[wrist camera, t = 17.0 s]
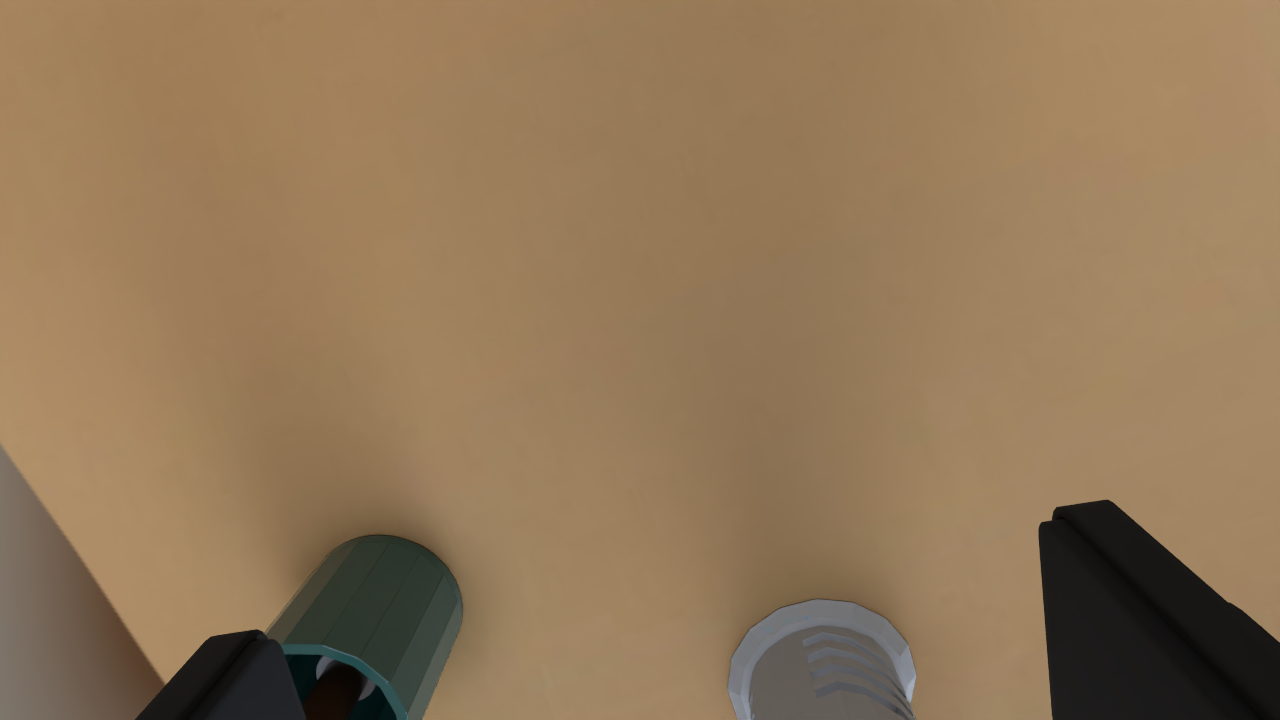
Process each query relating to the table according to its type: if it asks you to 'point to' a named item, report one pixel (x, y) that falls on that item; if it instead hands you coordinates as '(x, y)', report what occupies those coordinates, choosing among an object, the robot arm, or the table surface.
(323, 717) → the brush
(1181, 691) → the robot arm
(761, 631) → the french press
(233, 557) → the table surface
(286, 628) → the cup
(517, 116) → the table surface
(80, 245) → the table surface
